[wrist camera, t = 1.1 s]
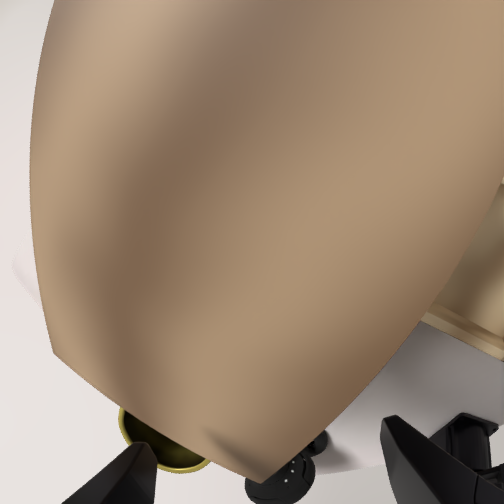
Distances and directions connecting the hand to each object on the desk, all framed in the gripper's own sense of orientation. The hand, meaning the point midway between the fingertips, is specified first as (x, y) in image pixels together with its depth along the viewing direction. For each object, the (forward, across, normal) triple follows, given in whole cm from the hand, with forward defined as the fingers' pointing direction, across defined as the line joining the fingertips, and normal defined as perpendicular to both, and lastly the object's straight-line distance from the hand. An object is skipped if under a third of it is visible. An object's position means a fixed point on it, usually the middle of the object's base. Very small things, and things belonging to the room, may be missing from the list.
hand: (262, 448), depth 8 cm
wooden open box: (+15, -4, -7) cm, 17 cm away
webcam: (+19, 0, +22) cm, 29 cm away
